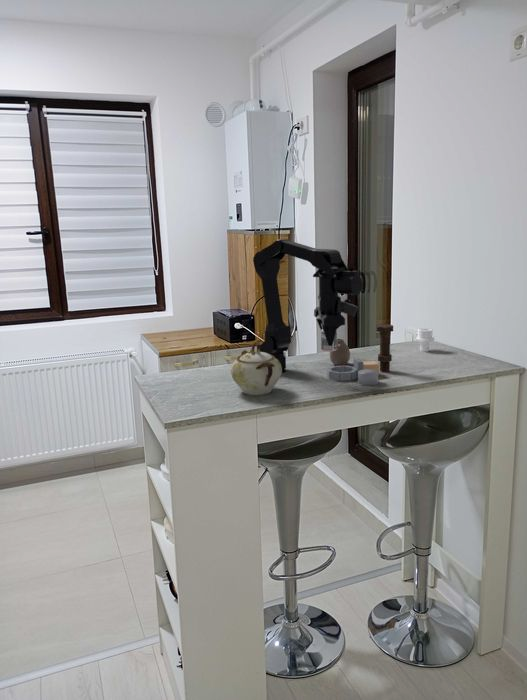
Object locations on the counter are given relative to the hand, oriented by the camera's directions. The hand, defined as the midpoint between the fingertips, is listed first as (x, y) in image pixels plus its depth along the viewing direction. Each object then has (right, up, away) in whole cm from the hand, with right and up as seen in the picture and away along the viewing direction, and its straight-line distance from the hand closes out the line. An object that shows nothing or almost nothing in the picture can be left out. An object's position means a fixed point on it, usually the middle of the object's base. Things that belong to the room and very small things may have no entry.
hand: (328, 343), depth 179 cm
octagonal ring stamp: (+8, -10, +8) cm, 15 cm away
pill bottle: (0, -2, 0) cm, 2 cm away
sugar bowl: (-22, -14, -5) cm, 26 cm away
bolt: (+20, -9, +13) cm, 25 cm away
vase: (+6, -7, +23) cm, 25 cm away
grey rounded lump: (+12, -12, 0) cm, 17 cm away
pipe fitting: (+40, -2, +39) cm, 56 cm away
